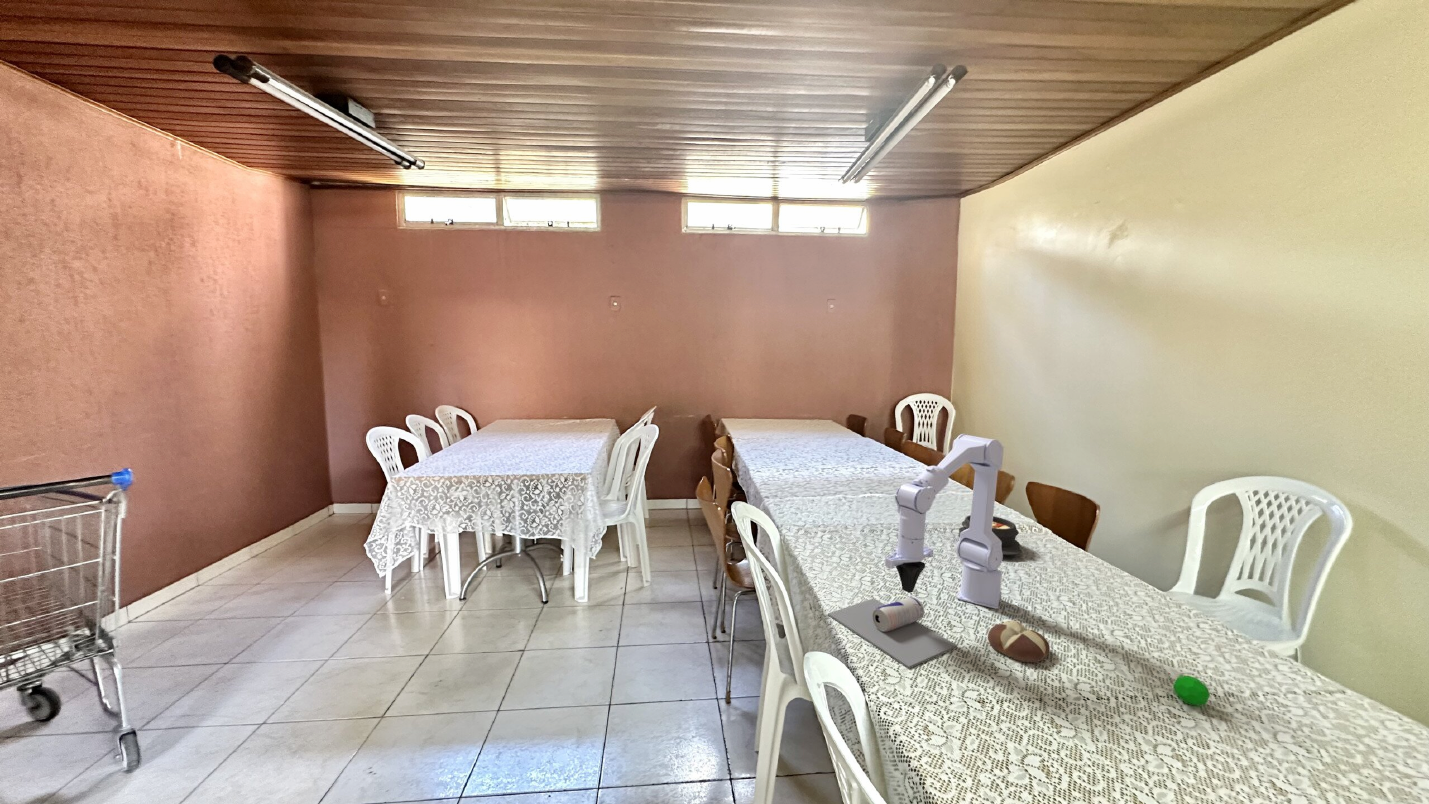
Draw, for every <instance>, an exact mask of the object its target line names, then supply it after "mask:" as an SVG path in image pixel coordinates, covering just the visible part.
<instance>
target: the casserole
mask: <svg viewBox="0 0 1429 804" xmlns="http://www.w3.org/2000/svg"><path fill="white" fill-rule="evenodd" d="M970 517H971V514H970V515H967V516H966V517H965V519H964V520H963V521H962V522H961V525H962V527H959V528H958V538H960V533H961V532H962V531H964V530H966V529H968V528H969V527H970ZM992 532H993V533H994V534H995V535H996V536H997V537H998V538H999V539H1000V540H1001V542H1002V544H1001V548H1002V553H1003V556H1017V555H1021V554H1022V553H1023V551H1022V550H1021V544H1020V542H1019V541H1018V540H1017V539H1016V536H1019V534H1020V533H1019V530H1018V529H1017V526H1016V524H1015V523H1014V522H1012V521H1010V520H1009V519H1006V518H1002V517H1000V516H994V515H993V522H992Z"/></svg>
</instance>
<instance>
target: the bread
mask: <svg viewBox="0 0 1429 804" xmlns="http://www.w3.org/2000/svg"><path fill="white" fill-rule="evenodd" d="M987 634H988V635H987V641H988V643H989V644H990V646H991V647H992V648H993V649H994V650H995V651H997V652H999V653H1002V654H1003V655H1004V656H1007V657H1009V658H1011V659H1014V660H1017V661H1019V662H1022V663H1038V662H1041V661H1042V660H1043V659H1045V657H1047V656H1048V655H1049V654H1050V652H1051V647H1050V644H1049V641H1048V640H1047V638H1045V636H1044V635H1043V634H1041V633H1040V632H1038V631H1036V630H1034V629H1029V630H1028V628H1027V627H1026V626H1025V625H1024V624H1023V623H1020V622H1019V621H1012V620H1011V621H1009V620H1008V621H1005V622H1002V623H999V624H994V625H993V626H992V628H991V629H990V630H989V632H988V633H987Z"/></svg>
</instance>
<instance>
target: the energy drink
mask: <svg viewBox="0 0 1429 804" xmlns="http://www.w3.org/2000/svg"><path fill="white" fill-rule="evenodd" d="M924 616H925V609H924V605H923V604H922V602H921V601H920V600H919V599H918V598H916V597H915V596H909V597H907V598H903V599H900V600H897V601H893V602H891V603H887V604H885V605H884V606H881V607H878V608H876V609H875V610H874V611H873V614H872V618H873V622H874V624H875V626H876V627H877V628H878V629H879V630H880V631H886V632H887V631H890V630H893V629H896V628H899V627H902V626H904V625H907V624H910V623H913V622H918V621H920V620H921V621H922V620H923V618H924Z"/></svg>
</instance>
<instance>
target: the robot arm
mask: <svg viewBox="0 0 1429 804" xmlns="http://www.w3.org/2000/svg"><path fill="white" fill-rule="evenodd" d="M1004 448H1005V447H1004V446H1003V444H1002V443H1001V442H1000V440H998V439H996V438H993V439H992V438H986V437H980V436H975V435H969V434H966V433H961V434H959V435H958V436H957V437H956V438H955V439H954V440H953V441H952V449H951V450H950V451H949V452H948V453H947V454H946V455H945V457H944V458H943V459H942V460H941V461H940V462H939V463H938V464H937V465H930V466H927V467H926V468H925V470H923V472H921V473H919V475H918V476H917V477H916V478H914V479H913V480H912V481H911V482H910V483H908V482H906V483H904V484H901V485H900V486H899V487H898V488H897V490H896V493H895V495H894V501H895V504H896V505H897V513H898V517H899V518H898V519H899V520H898V531H897V532H898V533H897V534H898V535H897V547H894V548H893V549H894V550H893V551H894V552H893V553H891V555H890V556H887V557H885V558H884V559H885V561H884V566H886V567H887V568H889V569H891V570H892V569H895V568H896V571H897V573H898V576H899V580H900V584H901V589H902V591H904V592H907V593H908V594H911V593H914V591H915V588H916V584H917V581H918V579H919V577H920V576H921V573H922V572H923V571H924V570H925V569H926V563H924V562H923V561H924V560H925V559H926V558H934V548H931V547H928V546H925V533H926V531H925V530H926V518H927V512H928V511H930V509H932V505H933V503H934V501H935V499H936V496H937V495H938V494H939V493H940V492H941V491H942V490H943V489H944V488H945V487H946V486H948V484H949V477H950V476H951V475H953V474H954V473H955V472H956V471H958V470H959V469H961V468H962V467H963V466H964V465H966V464H967V463H968V465H970V467H972V469H973V470H974V478H973V479H974V481H973V490H972V499H971V508H970V509H971V511H970V515H971V517H970V527H969V528H968V529H966V530H964V531H962V532H961V533H960V538H959V537H958V538H959V539H958V541H957V543H956V549H955V551H956V555H957V557H958V558H959V559H960V560H959V561H960V563H962V570H961V571H962V573H961V584H960V586H961V587H960V588H959V591H958V593H957V596H956V599H957V600H960V601H965V602H968V603H971V604H975V605H980V606H983V607H988V608H990V609H994V610H998V608H999V605H1000V600H1001V599H1002V594H1003V593H1002V579H1003V577H1002V576H1003V571H1002V570H1001V569H999V568H1000V567H1001V564H1002V563H1003V558H1004V555H1003V553H1002V548H1001V544H1002V542H1001V540H1000V539H999V538H998V537H997V536H996V535H995V534H994V533H993V532H992V522H993V516H994V511H995V501H996V493H997V492H996V491H997V483H998V474H999V473H998V472H999V471H1000V470H1002V467H1003V466H1002V465H1003V459H1004Z"/></svg>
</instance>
